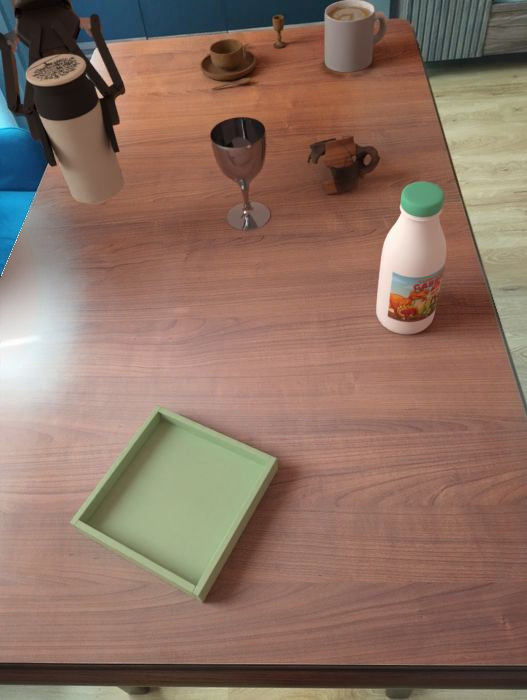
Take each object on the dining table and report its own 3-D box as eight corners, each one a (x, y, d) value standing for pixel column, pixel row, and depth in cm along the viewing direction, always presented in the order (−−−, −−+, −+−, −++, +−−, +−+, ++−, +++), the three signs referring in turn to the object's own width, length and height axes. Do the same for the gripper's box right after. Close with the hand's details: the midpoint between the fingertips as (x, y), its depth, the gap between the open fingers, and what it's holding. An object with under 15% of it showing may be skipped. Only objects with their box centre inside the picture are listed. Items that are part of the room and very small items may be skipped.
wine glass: (214, 216, 96) (199, 133, 84) (251, 194, 98) (241, 110, 87) (244, 239, 91) (233, 155, 80) (283, 215, 94) (276, 130, 82)
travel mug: (134, 188, 86) (98, 66, 72) (87, 212, 83) (39, 90, 69) (108, 166, 90) (69, 46, 76) (62, 188, 87) (12, 68, 73)
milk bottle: (365, 322, 79) (374, 202, 63) (391, 286, 83) (405, 164, 67) (418, 344, 76) (442, 223, 60) (443, 306, 79) (471, 182, 64)
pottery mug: (307, 199, 97) (298, 147, 94) (321, 189, 105) (313, 141, 102) (379, 187, 92) (372, 132, 89) (388, 177, 100) (381, 127, 97)
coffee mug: (330, 75, 121) (331, 24, 113) (319, 54, 127) (319, 4, 119) (393, 65, 121) (398, 13, 113) (380, 44, 127) (383, -7, 119)
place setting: (197, 55, 131) (192, 28, 127) (284, 40, 132) (282, 12, 128) (206, 93, 120) (201, 64, 116) (301, 76, 121) (300, 47, 117)
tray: (77, 531, 64) (69, 522, 62) (161, 415, 72) (156, 404, 70) (202, 603, 58) (198, 596, 56) (278, 468, 67) (277, 458, 65)
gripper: (117, -18, 81) (160, 147, 84) (-35, 11, 79) (14, 179, 81) (111, -50, 73) (158, 132, 76) (-58, -19, 71) (-3, 167, 74)
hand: (84, 156), depth 79 cm, fingers closed on travel mug, 8 cm apart
